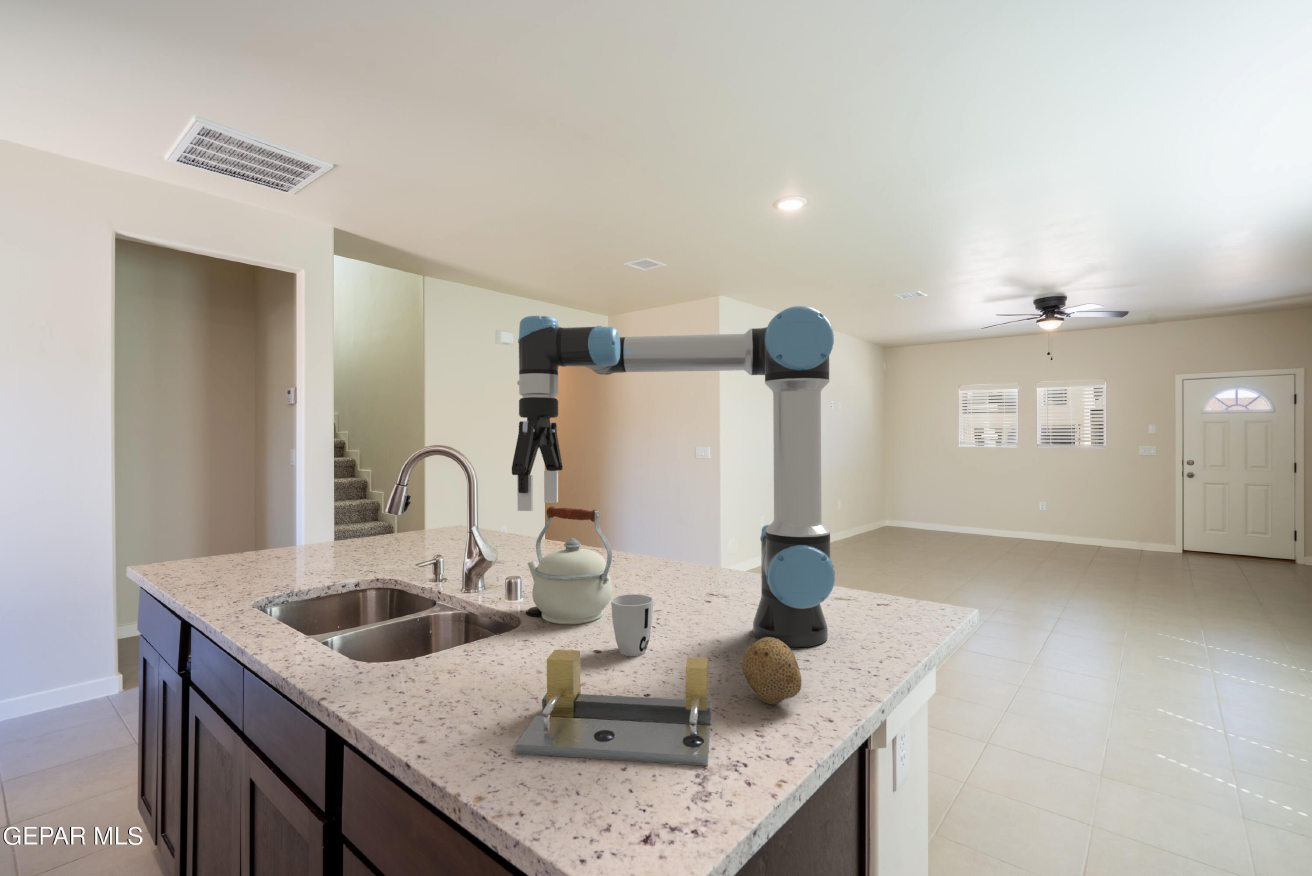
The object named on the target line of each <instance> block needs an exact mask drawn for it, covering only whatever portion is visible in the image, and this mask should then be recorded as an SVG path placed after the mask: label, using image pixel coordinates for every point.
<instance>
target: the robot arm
mask: <svg viewBox="0 0 1312 876" xmlns="http://www.w3.org/2000/svg"><path fill="white" fill-rule="evenodd" d="M518 330H519V332H518V339H517V343H518V369H519V372H518V375H519V376H518V377H519V378H518V379H519V380H517V382H516V383H517V386H519V387H518V388H519V389H518V392H519V393H518V394H519V395H520V396H522V397H520V398H519V399H518V416H519V417H520V418H524V419H526V420H524V421H519V422H518V433H517V434H518V435H517V439H516V444H515V448H514V453H513V454H514V455H513V459H512V464H511V474H512V476H517V477H516V479H517V481H516V482H517V492H516V493H517V496H516V497H517V512H522V511H523V512H532V511H534V475H533V474H532V475H531V473H532V470H533V466H534V463H535V461H536V457H537V453H538V451H539V450H540V451H539V452H540V454H541V457H542V461H543V463H544V466H545V469H546V470H544V471H543V472H544V474H543V477H544V479H543V481H544V482H543V483H544V484H543V485H544V488H543V490H544V495H543V497H544V500H543V502H544V503H549V504H550V503H552V504H553V503H554V504H556V503H559V471H563V468H564V467H563V462H562V461H563V460H562V457H561V456H562V455H561V449H560V444H559V443H560V442H559V439H558V433H557V431H558V429H557V428H558V426H557V423H556V422H551V419H553V418H557V417H559V400H558V398H556V397H558V396H559V367H585V368H588V369H589V370H591V371H592V372H594V373H595V374H598V375H601V376H602V375H604V376H607V375H609V376H610V375H613V374H615V373H616V374H619V373H620V374H622V373H654V372H656V373H660V372H661V373H663V372H664V373H667V372H669V373H670V372H672V373H673V372H723V371H725V372H726V371H729V372H731V371H734V372H735V371H744V372H746V373H748V375H749V376H764V384H765V385H766V386H767V387H768V388H769V389H770V390H771V392H772V397H773V399H772V400H773V404H772V405H773V407H772V408H773V409H772V410H773V411H772V413H773V415H772V416H773V419H772V421H773V520H772V522H771V523H770V524H765V525H763V527H761V534H760V544H761V547H760V548H761V549H760V551H761V554H760V555H761V556H760V557H761V558H760V559H761V564H760V565H761V566H760V567H761V571H760V572H761V576H760V577H761V597H760V600H759V603H758V606H757V609H756V613H755V616H754V618H753V622H752V633H753V636H754V637H755V638H756V639H758V640H759V639H762V638H765V637H772V638H776V639H779V640H780V641H782V642H784V643H785V644H786V645H787V646H788V647H789V648H790V647H791V648H805V647H807V648H808V647H815V646H818V645H821V644H824V643H825V642H826V641H827V640H828V637H829V633H828V632H829V631H828V629H829V628H828V625H827V621H826V618H825V615H824V612H823V609H822V608H823V607H822V605H821V604H822V603H824V601H826V599H827V598H828V597H829V596H830V594H831V593H832V591H833V590H834V589H833V588H834V586H835V581H836V572H835V566H834V564H833V562H832V560H831V530H830V529H829V528H828V527H827V526H826V525H825V524H824V522H823V521H822V397H821V396H822V391H823V389H824V388H825V387H826V386H827V385H828V384H829V383H830V355H831V353H832V350H833V348H834V342H835V339H834V336H835V335H834V331H833V326H832V325H831V322H830V321H829V320H828V318H827V317H826V316H825V315H824V314H823V313H822V312H821V311H819V310H817V309H816V308H814V307H811V306H806V305H795V306H791V307H788V308H785V309H784V310H782V311H780V312H779V313H776V315H774V316H773V318H772V319H771V320H770V321H769V322H768V324H767V326H766V327H760V328H749V329H748V330H747V331H746V332H745V333H724V334H693V335H692V334H688V335H687V334H686V335H683V334H682V335H653V336H652V335H651V336H649V335H648V336H620V334H619V331H618V329H617V328H615V327H613V326H602V325H596V326H582V327H580V326H579V327H578V326H577V327H561V326H560V325H559V322H558V320H557V319H556V318H555V317H553V316H546V315H545V316H544V315H529V316H525V317H523V318H521V320H520V321H519V329H518Z"/></svg>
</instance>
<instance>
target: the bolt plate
mask: <svg viewBox="0 0 1312 876" xmlns="http://www.w3.org/2000/svg"><path fill="white" fill-rule="evenodd" d="M710 736H711V726H710V725H705V724H696V739H695V740H692V739H690V724H688V723H670V722H653V721H635V720H617V719H600V718H582V717H561V716H550V730H548V731H544V717H543V715H536V716H535V717H534V718H533V719H532V722H531V723H529V725H528V727H527V728H526V730H525V731H524V733H523V734H522V736H521V737H520V739H519V740H518V741H517V743H515V744H516V745H515V746H516V751H515V752H516V754H518V755H519V754H521V755H533V756H534V755H538V756H550V757H552V756H553V757H567V758H581V759H597V760H599V759H600V760H610V761H611V760H612V761H625V762H627V761H628V762H631V761H632V762H643V763H644V762H645V763H659V764H673V765H688V766H689V765H691V766H705V767H708V766H709V765H708V763H709V749H710V738H711V737H710Z"/></svg>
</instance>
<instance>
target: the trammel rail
mask: <svg viewBox="0 0 1312 876" xmlns="http://www.w3.org/2000/svg"><path fill="white" fill-rule="evenodd" d="M708 663H709V659H708V657H692V656H691V657H689V656H688V657H687V660H686V664H685V699H683V698H665V697H664V698H662V697H647V696H646V697H645V696H644V697H642V696H627V695H626V696H625V695H606V694H588V693H587V694H586V693H581V694H577V696H576V698H575V700H574V716H573V717H572V718H581V719H599V720H616V721H634V722H652V723H669V724H687V725H690V739H692V740H695V739H696V725H704V726H710V725H711V724H712V723H711V722H712V700H709V686H708V685H709V665H708ZM546 695H547V692H546V693H545V694H544V695H543V697H542V699H541V703H542V705H541V712H542V711H543V710H544V709H545V707H546Z"/></svg>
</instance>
